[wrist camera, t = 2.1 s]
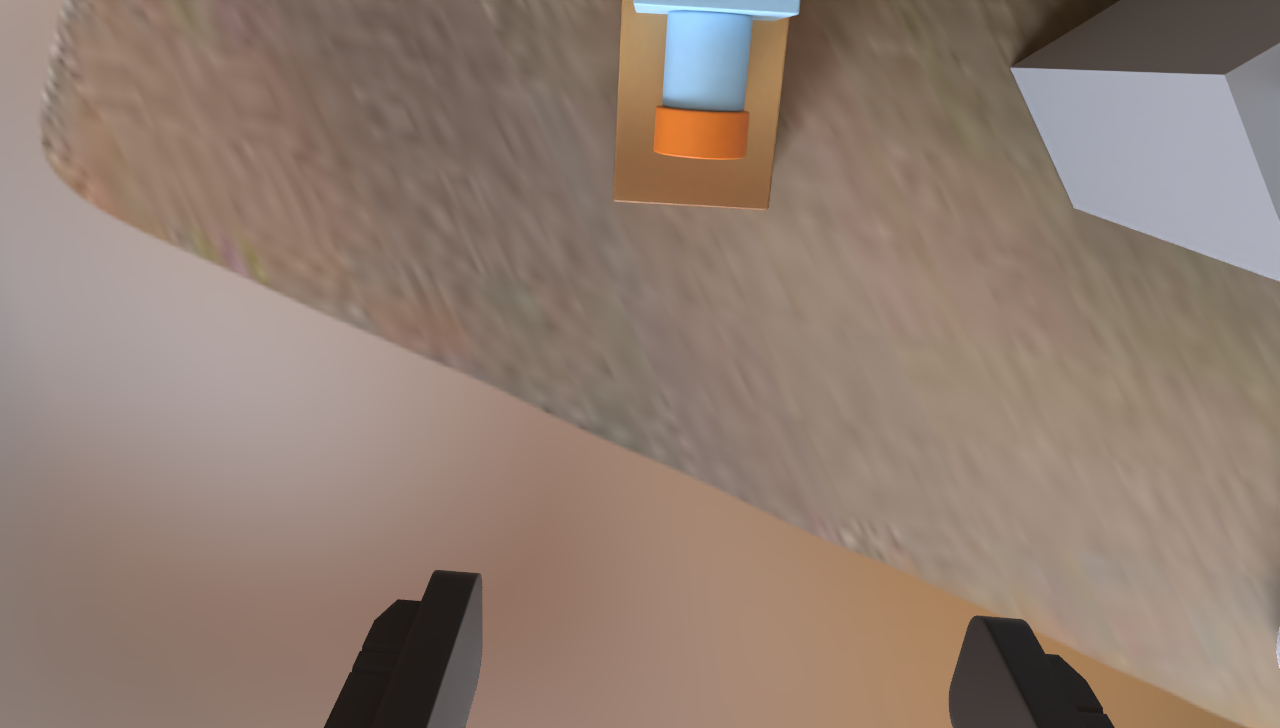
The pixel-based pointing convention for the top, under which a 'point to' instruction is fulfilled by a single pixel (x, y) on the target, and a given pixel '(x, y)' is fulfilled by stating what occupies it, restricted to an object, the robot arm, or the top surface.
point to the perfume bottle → (1169, 122)
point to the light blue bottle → (707, 74)
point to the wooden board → (690, 178)
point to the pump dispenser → (1278, 647)
